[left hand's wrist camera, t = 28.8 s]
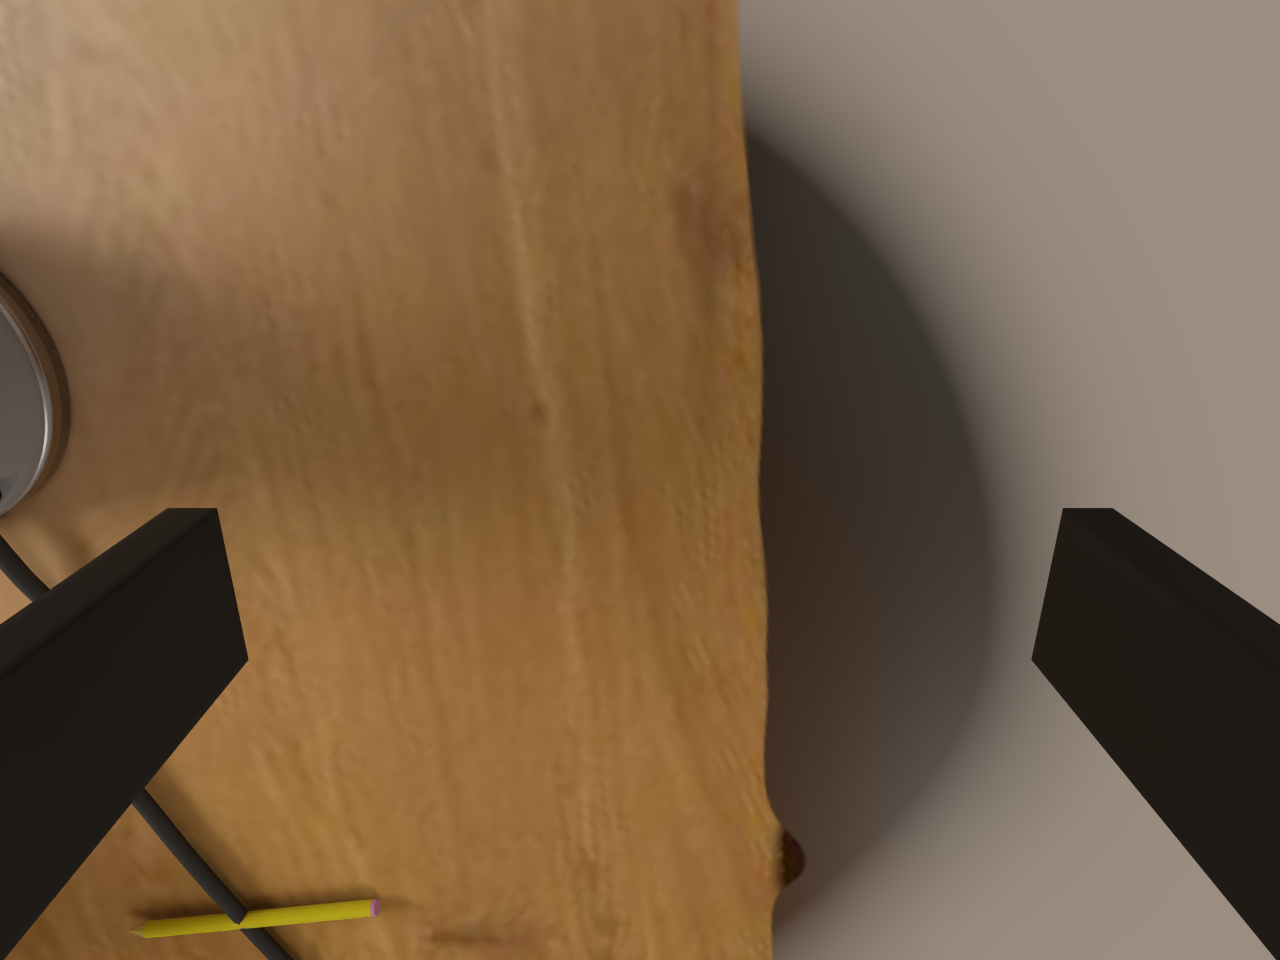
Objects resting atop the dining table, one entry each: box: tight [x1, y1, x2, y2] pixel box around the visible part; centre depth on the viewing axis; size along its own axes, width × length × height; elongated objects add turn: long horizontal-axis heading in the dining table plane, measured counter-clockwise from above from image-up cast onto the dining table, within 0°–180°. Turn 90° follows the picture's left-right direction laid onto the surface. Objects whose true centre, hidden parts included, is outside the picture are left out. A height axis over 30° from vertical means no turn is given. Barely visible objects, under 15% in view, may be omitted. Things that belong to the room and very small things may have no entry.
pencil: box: [126, 899, 380, 938], centre depth 50 cm, size 16×1×1 cm, turn 97°
